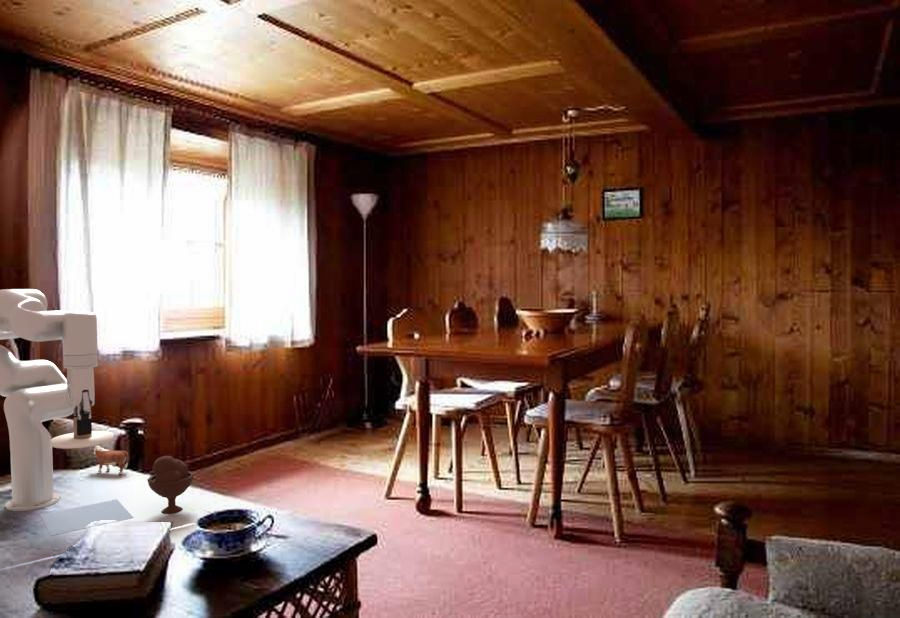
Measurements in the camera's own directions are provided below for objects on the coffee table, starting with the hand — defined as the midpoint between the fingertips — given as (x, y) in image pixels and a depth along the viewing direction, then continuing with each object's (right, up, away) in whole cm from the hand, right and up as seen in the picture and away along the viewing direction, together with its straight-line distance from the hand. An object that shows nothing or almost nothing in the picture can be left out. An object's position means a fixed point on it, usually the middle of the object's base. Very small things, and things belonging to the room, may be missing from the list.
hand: (82, 432), depth 165 cm
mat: (+1, -22, +1) cm, 22 cm away
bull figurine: (-14, -21, +40) cm, 48 cm away
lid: (0, -2, 0) cm, 2 cm away
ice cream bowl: (+21, -22, +4) cm, 31 cm away
